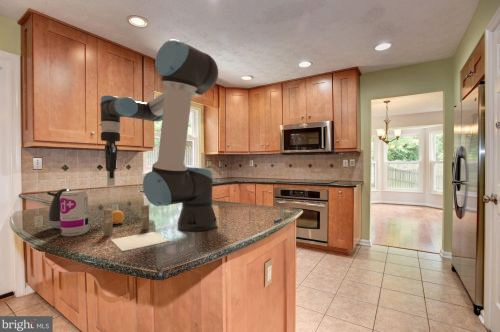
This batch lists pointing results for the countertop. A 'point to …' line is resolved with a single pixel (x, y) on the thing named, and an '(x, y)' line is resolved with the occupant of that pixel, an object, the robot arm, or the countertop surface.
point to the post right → (145, 217)
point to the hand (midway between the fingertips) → (110, 185)
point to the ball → (117, 216)
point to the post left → (108, 222)
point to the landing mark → (138, 241)
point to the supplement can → (73, 213)
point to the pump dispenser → (55, 208)
